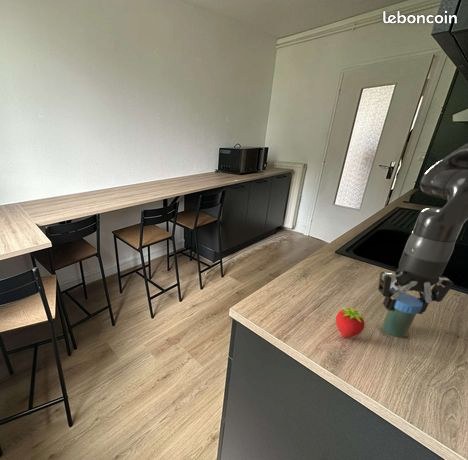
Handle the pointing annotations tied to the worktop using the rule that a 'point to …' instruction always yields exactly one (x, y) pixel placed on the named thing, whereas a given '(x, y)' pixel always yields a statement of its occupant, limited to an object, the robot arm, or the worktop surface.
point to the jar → (397, 323)
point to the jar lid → (408, 304)
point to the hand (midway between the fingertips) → (402, 310)
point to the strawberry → (349, 322)
